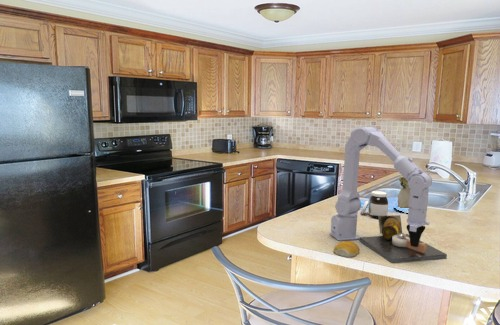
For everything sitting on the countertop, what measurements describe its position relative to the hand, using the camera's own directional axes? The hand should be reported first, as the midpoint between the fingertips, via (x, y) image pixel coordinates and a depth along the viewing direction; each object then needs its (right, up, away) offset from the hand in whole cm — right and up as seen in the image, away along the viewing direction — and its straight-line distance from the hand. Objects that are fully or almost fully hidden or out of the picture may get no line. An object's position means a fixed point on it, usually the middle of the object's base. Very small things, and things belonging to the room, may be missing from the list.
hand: (414, 246), depth 129 cm
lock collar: (0, -1, +4) cm, 4 cm away
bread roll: (-23, -3, +2) cm, 23 cm away
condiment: (0, +4, +21) cm, 21 cm away
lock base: (-2, -3, +6) cm, 7 cm away
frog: (+23, +4, +60) cm, 64 cm away
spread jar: (+2, +3, +49) cm, 49 cm away
